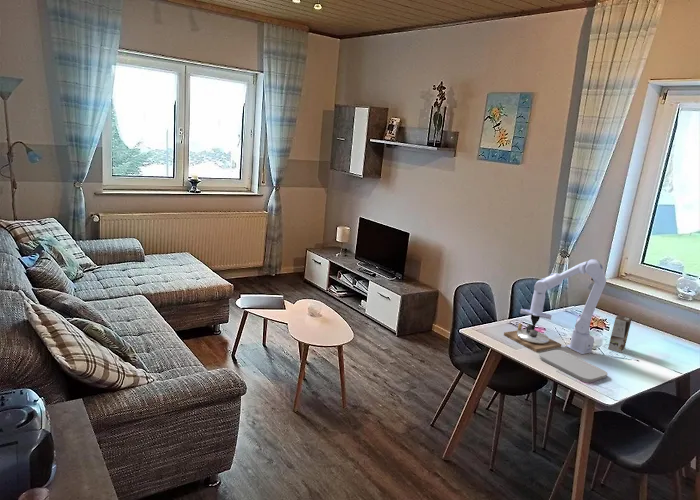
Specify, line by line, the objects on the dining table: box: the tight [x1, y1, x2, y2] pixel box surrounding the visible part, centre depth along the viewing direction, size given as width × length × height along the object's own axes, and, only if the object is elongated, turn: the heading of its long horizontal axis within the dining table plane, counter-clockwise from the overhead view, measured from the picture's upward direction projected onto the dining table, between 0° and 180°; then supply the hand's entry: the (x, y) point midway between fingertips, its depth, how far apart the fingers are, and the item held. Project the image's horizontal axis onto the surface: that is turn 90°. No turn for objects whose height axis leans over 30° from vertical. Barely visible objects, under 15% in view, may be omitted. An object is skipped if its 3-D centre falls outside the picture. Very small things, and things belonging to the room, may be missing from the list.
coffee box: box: [607, 314, 633, 353], centre depth 249 cm, size 9×6×16 cm
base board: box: [503, 323, 562, 353], centre depth 248 cm, size 20×18×6 cm
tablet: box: [538, 349, 608, 383], centre depth 223 cm, size 16×26×2 cm, turn 32°
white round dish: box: [516, 323, 550, 344], centre depth 247 cm, size 15×15×4 cm
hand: (532, 329), depth 253 cm, fingers closed, pressing on white round dish
